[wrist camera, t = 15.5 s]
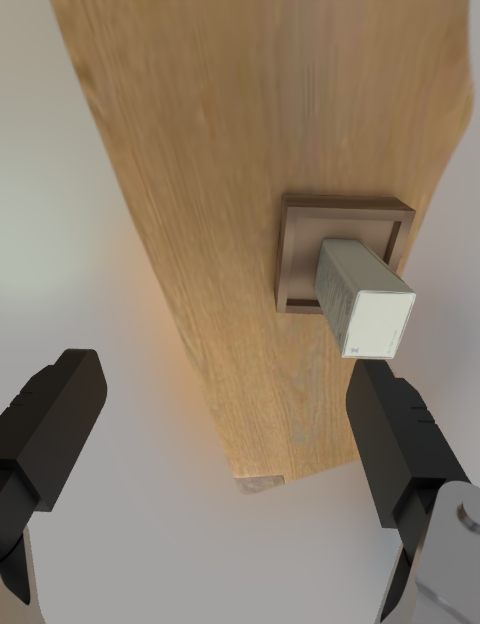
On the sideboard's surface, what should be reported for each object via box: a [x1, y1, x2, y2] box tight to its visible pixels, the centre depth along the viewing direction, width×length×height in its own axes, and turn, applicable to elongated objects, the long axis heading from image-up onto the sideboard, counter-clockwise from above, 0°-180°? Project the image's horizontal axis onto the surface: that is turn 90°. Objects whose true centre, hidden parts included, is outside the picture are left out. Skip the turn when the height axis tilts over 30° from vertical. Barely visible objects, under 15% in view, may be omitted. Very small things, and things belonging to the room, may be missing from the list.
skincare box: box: [314, 239, 416, 359], centre depth 29 cm, size 6×4×12 cm
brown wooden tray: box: [274, 194, 416, 314], centre depth 35 cm, size 12×12×6 cm
